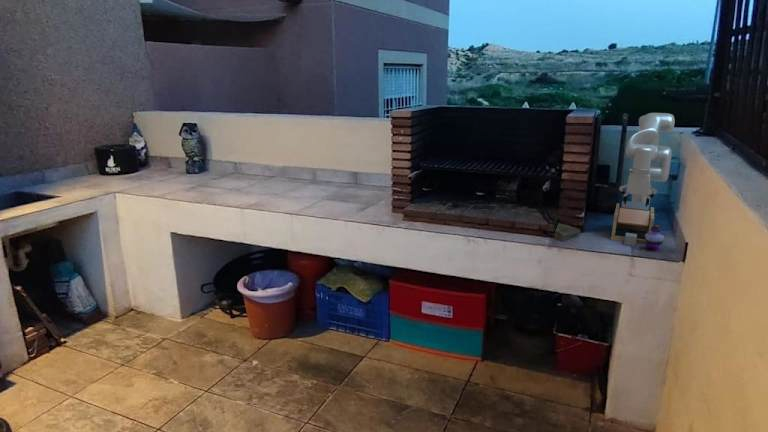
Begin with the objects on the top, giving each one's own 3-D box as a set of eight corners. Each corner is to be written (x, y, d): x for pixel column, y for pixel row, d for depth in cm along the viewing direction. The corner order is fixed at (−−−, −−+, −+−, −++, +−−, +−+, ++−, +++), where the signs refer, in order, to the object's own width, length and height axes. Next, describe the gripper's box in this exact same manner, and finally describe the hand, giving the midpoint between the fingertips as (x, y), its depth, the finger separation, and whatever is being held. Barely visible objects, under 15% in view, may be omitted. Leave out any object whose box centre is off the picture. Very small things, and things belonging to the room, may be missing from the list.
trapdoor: (620, 206, 271) (620, 200, 269) (649, 209, 265) (650, 203, 263) (616, 226, 259) (617, 220, 257) (647, 230, 253) (648, 224, 250)
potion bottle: (664, 252, 239) (668, 228, 235) (644, 250, 241) (648, 227, 237) (660, 246, 247) (664, 223, 243) (640, 245, 249) (644, 222, 245)
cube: (626, 232, 252) (624, 242, 254) (625, 235, 248) (624, 244, 249) (637, 234, 250) (635, 243, 251) (636, 236, 246) (635, 246, 247)
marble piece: (562, 242, 254) (563, 234, 253) (539, 234, 266) (540, 227, 264) (582, 236, 263) (583, 228, 262) (559, 229, 275) (560, 221, 273)
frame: (613, 226, 278) (617, 202, 274) (649, 231, 270) (653, 206, 266) (610, 239, 257) (614, 213, 253) (650, 245, 249) (654, 218, 245)
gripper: (621, 171, 249) (616, 204, 254) (660, 174, 241) (654, 208, 246) (621, 168, 255) (617, 201, 260) (660, 172, 248) (654, 205, 253)
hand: (635, 204), depth 253 cm, fingers open, 9 cm apart
